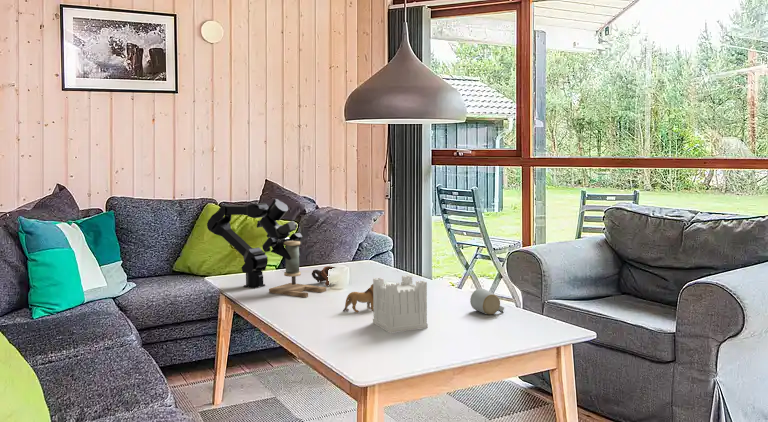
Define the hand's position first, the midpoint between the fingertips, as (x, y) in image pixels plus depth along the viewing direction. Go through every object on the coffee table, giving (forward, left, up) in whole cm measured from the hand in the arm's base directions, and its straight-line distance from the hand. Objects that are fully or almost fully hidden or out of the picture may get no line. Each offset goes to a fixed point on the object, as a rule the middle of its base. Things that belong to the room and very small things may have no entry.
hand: (294, 258), depth 256 cm
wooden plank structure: (0, +1, -13) cm, 13 cm away
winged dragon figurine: (+1, +19, -14) cm, 23 cm away
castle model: (+60, -22, -14) cm, 66 cm away
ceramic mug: (+77, +7, -14) cm, 79 cm away
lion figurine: (+39, -11, -14) cm, 43 cm away
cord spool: (-1, 0, -7) cm, 7 cm away
